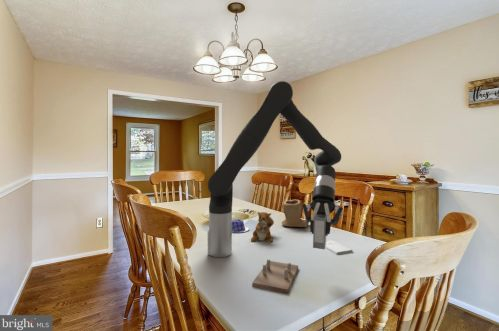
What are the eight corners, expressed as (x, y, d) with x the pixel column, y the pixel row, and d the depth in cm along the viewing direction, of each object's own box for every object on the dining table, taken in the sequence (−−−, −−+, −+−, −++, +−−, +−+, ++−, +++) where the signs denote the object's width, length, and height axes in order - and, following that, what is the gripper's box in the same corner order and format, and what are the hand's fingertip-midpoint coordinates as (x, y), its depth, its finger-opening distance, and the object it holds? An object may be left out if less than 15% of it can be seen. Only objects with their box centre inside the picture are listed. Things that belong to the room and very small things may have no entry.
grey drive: (315, 241, 86) (316, 212, 85) (326, 243, 84) (327, 213, 84) (312, 247, 80) (313, 216, 80) (324, 249, 79) (325, 218, 78)
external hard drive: (336, 256, 102) (318, 245, 114) (352, 253, 105) (333, 243, 116) (336, 252, 102) (318, 241, 114) (352, 249, 105) (333, 239, 116)
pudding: (239, 225, 143) (239, 216, 142) (253, 230, 134) (253, 221, 133) (221, 229, 135) (221, 220, 135) (235, 235, 126) (235, 225, 126)
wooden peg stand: (268, 263, 93) (268, 252, 93) (298, 268, 89) (298, 257, 89) (252, 286, 77) (252, 272, 77) (287, 293, 73) (287, 279, 73)
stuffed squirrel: (250, 242, 116) (250, 214, 115) (255, 232, 129) (256, 207, 129) (271, 244, 113) (271, 215, 113) (275, 234, 127) (275, 208, 127)
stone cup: (280, 228, 137) (280, 201, 136) (282, 222, 148) (283, 197, 148) (308, 230, 133) (309, 202, 132) (309, 224, 145) (309, 198, 144)
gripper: (303, 183, 91) (296, 225, 80) (345, 185, 86) (343, 230, 75) (305, 195, 96) (298, 236, 85) (344, 198, 91) (343, 242, 80)
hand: (319, 233), depth 80 cm, fingers closed on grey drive, 3 cm apart
